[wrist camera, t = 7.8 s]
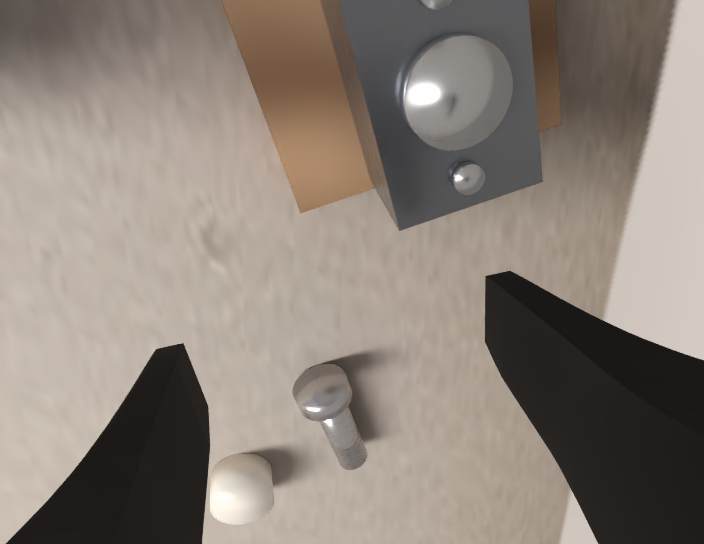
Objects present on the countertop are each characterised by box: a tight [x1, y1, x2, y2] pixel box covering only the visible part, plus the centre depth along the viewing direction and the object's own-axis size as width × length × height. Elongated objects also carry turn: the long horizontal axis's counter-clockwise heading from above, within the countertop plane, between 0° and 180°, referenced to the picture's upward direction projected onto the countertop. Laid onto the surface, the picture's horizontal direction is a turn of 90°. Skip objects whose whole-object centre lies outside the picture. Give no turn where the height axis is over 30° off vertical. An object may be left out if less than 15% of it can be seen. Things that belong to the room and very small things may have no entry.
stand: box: [221, 0, 562, 213], centre depth 18 cm, size 8×10×2 cm
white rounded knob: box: [210, 453, 274, 525], centre depth 28 cm, size 3×3×2 cm
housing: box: [320, 0, 543, 231], centre depth 15 cm, size 4×7×5 cm, turn 15°
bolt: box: [293, 364, 367, 470], centre depth 27 cm, size 6×3×3 cm, turn 16°
